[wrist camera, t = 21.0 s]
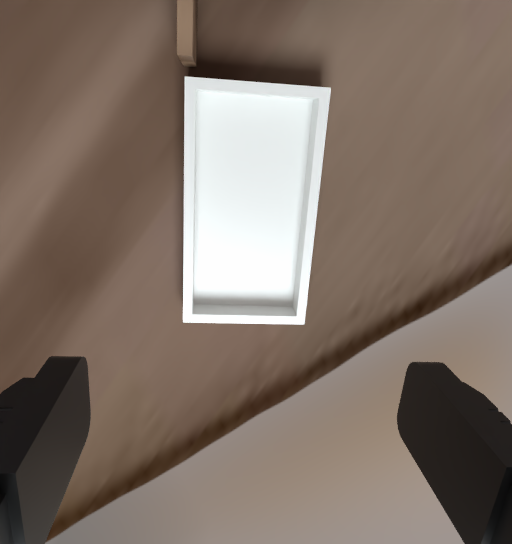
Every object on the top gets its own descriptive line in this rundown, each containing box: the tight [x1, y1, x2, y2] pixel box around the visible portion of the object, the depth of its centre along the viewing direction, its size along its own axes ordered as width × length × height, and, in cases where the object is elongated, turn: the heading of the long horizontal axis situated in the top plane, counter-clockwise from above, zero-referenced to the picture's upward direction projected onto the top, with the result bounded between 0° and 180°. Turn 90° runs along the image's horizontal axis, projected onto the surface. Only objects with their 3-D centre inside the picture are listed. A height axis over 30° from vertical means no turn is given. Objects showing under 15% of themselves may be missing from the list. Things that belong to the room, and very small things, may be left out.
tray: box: [183, 76, 331, 324], centre depth 36 cm, size 20×11×3 cm, turn 176°
